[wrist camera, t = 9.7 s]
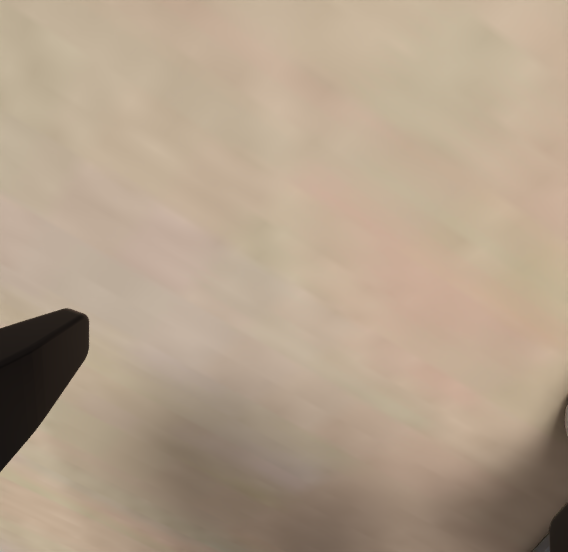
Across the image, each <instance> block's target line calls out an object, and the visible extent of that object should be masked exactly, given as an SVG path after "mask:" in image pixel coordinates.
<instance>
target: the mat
mask: <svg viewBox="0 0 568 552" xmlns="http://www.w3.org/2000/svg"><path fill="white" fill-rule="evenodd" d="M532 552H550V542H549V534H548V535H547V536H546V537H545V538H544V539H543V540H542V541H541V543H540V544H539V545H538V546H537V547H536V548H535V549H534V550H533V551H532Z"/></svg>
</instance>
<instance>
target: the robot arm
mask: <svg viewBox="0 0 568 552" xmlns="http://www.w3.org/2000/svg"><path fill="white" fill-rule="evenodd" d="M88 350H89V319H88V317H87V315H85V314H83V313H81V312H78V311H75V310H72V309H68V308H65V309H61V310H58V311H54V312H51V313H48V314H45V315H42V316H38V317H35V318H32V319H29V320H25V321H22V322H19V323H16V324H13V325H9V326H6V327H3V328H0V472H1V471H2V469H3V468H4V467H5V466H6V465H7V464H8V462H9V461H10V460H11V459H12V458H13V456H14V455H15V454H16V453H17V452H18V451H19V449H20V448H21V447H22V446H23V445H24V444H25V442H26V441H27V440H28V439H29V438H30V436H31V435H32V434H33V433H34V432H35V430H36V429H37V428H38V427H39V425H40V424H41V422H42V421H43V420H44V418H45V417H46V416H47V414H48V413H49V411H50V410H51V408H52V407H53V405H54V404H55V402H56V401H57V400H58V398H59V397H60V395H61V394H62V392H63V391H64V389H65V388H66V386H67V385H68V384H69V382H70V381H71V379H72V378H73V376H74V375H75V373H76V372H77V370H78V369H79V367H80V366H81V365H82V363H83V362H84V360H85V358H86V356H87V354H88ZM549 542H550V552H568V503H567V504H566V505H565V506H564V507H563V508H562V509H561V510H560V511H559V512H558V514H557V515H556V516H555V517H554V518H553V520H552V522H551V525H550V530H549Z"/></svg>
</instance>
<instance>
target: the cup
mask: <svg viewBox="0 0 568 552" xmlns="http://www.w3.org/2000/svg"><path fill="white" fill-rule="evenodd" d="M565 428H566V433H567V437H568V405H567V407H566V410H565Z"/></svg>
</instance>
